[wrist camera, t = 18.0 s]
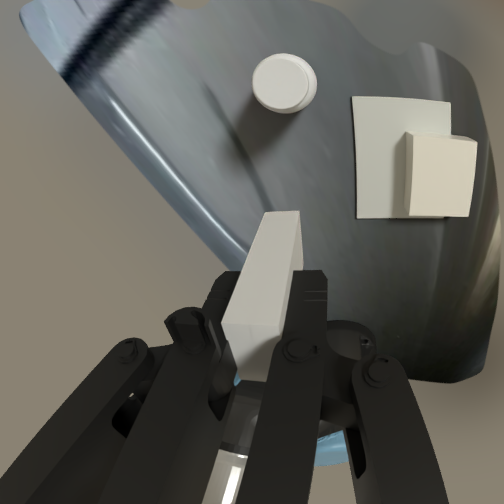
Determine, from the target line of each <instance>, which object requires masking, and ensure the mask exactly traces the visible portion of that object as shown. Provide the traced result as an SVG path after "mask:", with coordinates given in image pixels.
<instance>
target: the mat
mask: <svg viewBox="0 0 504 504" xmlns="http://www.w3.org/2000/svg"><path fill="white" fill-rule="evenodd" d="M352 105H353V117H354V130H355V148H356V174H357V218H444V216H409V214H408V213H407V211H406V209H405V208H404V206H403V204H404V191H405V171H406V131H413V132H427V133H438V134H447V135H451V105H450V103H449V102H441V101H432V100H422V99H411V98H395V97H362V96H352Z"/></svg>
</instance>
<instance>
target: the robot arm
mask: <svg viewBox="0 0 504 504" xmlns="http://www.w3.org/2000/svg"><path fill="white" fill-rule="evenodd" d="M327 281H328V279H327V278H326V276H325V275H324V273H323V272H322V270H303V252H302V238H301V226H300V214H299V211H281V212H265V214H264V216H263V219H262V221H261V224H260V226H259V229H258V231H257V234H256V236H255V239H254V241H253V244H252V246H251V249H250V251H249V254H248V256H247V259H246V261H245V264H244V266H243V269H242V271H225V272H224V273H223V274H222V275H220V276H219V277H218V278H217V279H216V280H215V282H214V284H213V286H212V288H211V292H210V293H209V295H208V297H207V300H206V301H205V303H204V305H203V307H202V309H201V308H197V307H185V308H182V309H179V310H177V311H175V312H174V313H172V314H171V315H169V316H168V317H167V319H166V320H165V321H164V323H165V325H166V327H167V329H168V331H169V333H170V335H171V337H172V339H173V341H174V342H173V344H170V345H165V346H159V347H150V348H148V346H147V344H146V343H145V342H144V341H143V340H142V339H139V338H128V339H125V340H123V341H121V342H119V343H118V344H117V345H116V346H115V347H113V349H112V350H111V351H110V352H109V353H108V354H107V355H106V356H105V357H104V358H103V359H102V361H101V362H100V363H99V364H98V365H97V366H96V367H95V368H94V369H93V370H92V371H91V373H90V374H89V375H88V376H87V377H86V378H85V379H84V381H82V383H81V384H80V385H79V386H78V387H77V388H76V389H75V390H74V391H73V393H72V394H71V395H70V396H69V397H68V398H67V399H66V401H65V402H64V403H63V404H62V405H61V406H60V408H59V409H58V410H57V411H56V412H55V413H54V414H53V416H52V417H51V418H50V419H49V420H48V421H47V422H46V424H45V425H44V426H43V427H42V428H41V429H40V431H39V432H38V433H37V434H36V436H35V437H34V438H33V439H32V440H31V441H30V443H29V444H28V445H27V446H26V447H25V449H24V450H23V451H22V452H21V454H20V455H19V456H18V457H17V458H16V460H15V461H14V462H13V463H12V465H11V466H10V467H9V468H8V470H7V471H6V472H5V474H4V475H3V476H2V477H1V479H0V504H308V499H309V494H310V488H311V482H312V476H313V470H314V466H327V465H334V464H340V463H344V462H347V461H349V464H350V469H351V475H352V480H353V486H354V491H355V497H356V503H357V504H449V502H448V498H447V494H446V490H445V487H444V482H443V479H442V475H441V472H440V469H439V465H438V462H437V459H436V456H435V452H434V449H433V446H432V443H431V440H430V437H429V434H428V431H427V428H426V425H425V423H424V420H423V417H422V414H421V412H420V409H419V406H418V404H417V401H416V398H415V396H414V393H413V391H412V388H411V386H410V383H409V381H408V378H407V376H406V374H405V371H404V369H403V367H402V366H401V364H400V363H399V361H398V360H396V359H395V358H393V357H391V356H389V355H385V354H381V353H378V354H376V340H375V337H374V335H373V333H372V332H371V331H370V330H369V329H368V328H366V327H365V326H363V325H361V324H358V323H355V322H351V321H343V320H337V321H328V322H327ZM131 393H134V395H133V396H131V397H129V396H130V394H131Z"/></svg>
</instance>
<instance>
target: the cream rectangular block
mask: <svg viewBox="0 0 504 504" xmlns="http://www.w3.org/2000/svg"><path fill="white" fill-rule="evenodd" d="M476 153H477V142H476V141H474V140H472V139H470V138H468V137H464V136H456V135H447V134H438V133H427V132H413V131H406V171H405V191H404V204H403V206H404V208H405V209H406V211H407V213H408V214H409V216H456V217H468V215H469V210H470V204H471V198H472V191H473V183H474V175H475V165H476Z"/></svg>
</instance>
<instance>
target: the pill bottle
mask: <svg viewBox="0 0 504 504" xmlns="http://www.w3.org/2000/svg"><path fill="white" fill-rule="evenodd" d="M316 89H317V79H316V76H315V73H314V71H313V69H312V68H311V67H310V65H309V64H308V63H307V62H306V61H304V60H303V59H301V58H299V57H297V56H295V55H291V54H275V55H272V56H269V57H267V58H265V59H264V60H263V61H261V62H260V63H259V64H258V65H257V67H256V68H255V70H254V72H253V75H252V90H253V93H254V95H255V97H256V99H257V100H258V101H259V102H260V103H261V104H262V105H263V106H264V107H265V108H267V109H269V110H271V111H274V112H277V113H294V112H297V111H299V110H301V109H303V108H305V107H306V106H307V105H308V104H309V103H310V102H311V101H312V100H313V98H314V96H315V93H316Z"/></svg>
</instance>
